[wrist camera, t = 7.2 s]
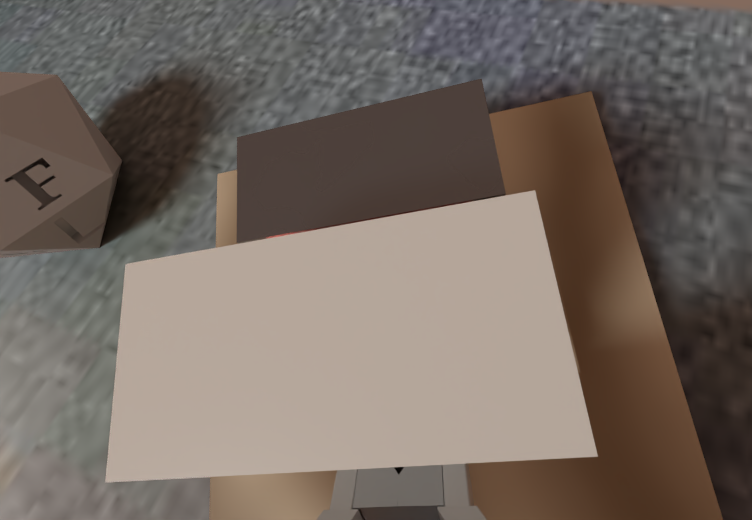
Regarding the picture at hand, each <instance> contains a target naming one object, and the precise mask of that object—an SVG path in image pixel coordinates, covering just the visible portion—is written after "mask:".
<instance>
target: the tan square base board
mask: <svg viewBox="0 0 752 520" xmlns="http://www.w3.org/2000/svg"><path fill="white" fill-rule="evenodd" d="M489 117H490V121H491V126H492V131H493V136H494V140H495V145H496V150H497V155H498V159H499V164H500V169H501V173H502V178H503V183H504V188H505V192H506V195H511V194H517V193H522V192H528V191H533V190H535V192H536V197H537V201H538V205H539V209H540V214H541V218H542V222H543V226H544V230H545V235H546V239H547V243H548V247H549V252H550V256H551V260H552V264H553V269H554V273H555V277H556V281H557V286H558V290H559V294H560V298H561V302H562V307H563V311H564V315H565V319H566V324H567V328H568V332H569V336H570V341H571V345H572V349H573V353H574V358H575V362H576V366H577V370H578V374H579V379H580V383H581V387H582V391H583V396H584V400H585V404H586V408H587V413H588V417H589V421H590V425H591V430H592V434H593V438H594V442H595V446H596V451H597V455H598V457H581V458H562V459H543V460H524V461H505V462H486V463H468V466H469V472H470V478H471V484H472V492H473V500H474V506H478V508H479V509H480V511H481V512H482V513H483V515H484V516H485V517H486V519H487V520H723V518H722V515H721V511H720V508H719V505H718V502H717V498H716V495H715V492H714V489H713V485H712V482H711V479H710V476H709V472H708V469H707V466H706V463H705V459H704V456H703V453H702V449H701V446H700V443H699V440H698V436H697V433H696V430H695V427H694V423H693V420H692V417H691V414H690V410H689V407H688V404H687V401H686V397H685V394H684V391H683V388H682V384H681V381H680V378H679V375H678V371H677V368H676V365H675V362H674V358H673V355H672V352H671V349H670V345H669V342H668V339H667V336H666V332H665V329H664V326H663V323H662V319H661V316H660V313H659V310H658V306H657V303H656V300H655V297H654V293H653V290H652V287H651V284H650V280H649V277H648V274H647V270H646V267H645V264H644V261H643V257H642V254H641V251H640V248H639V244H638V241H637V238H636V235H635V231H634V228H633V225H632V222H631V218H630V215H629V212H628V209H627V205H626V202H625V199H624V196H623V192H622V189H621V186H620V183H619V179H618V176H617V173H616V170H615V166H614V163H613V160H612V157H611V153H610V150H609V147H608V144H607V140H606V137H605V134H604V131H603V127H602V124H601V121H600V118H599V114H598V111H597V108H596V104H595V101H594V98H593V95H592V91H590V92H586V93H581V94H577V95H572V96H568V97H563V98H559V99H554V100H550V101H545V102H541V103H536V104H532V105H527V106H523V107H518V108H514V109H509V110H505V111H500V112H496V113H491V114H489ZM506 195H505V196H506ZM236 242H237V170H234V171H230V172H225V173H221V174H218V180H217V222H216V248H218V247H223V246H229V245H234V244H238V243H236ZM336 473H337V470H333V471H314V472H294V473H275V474H256V475H237V476H218V477H210V513H209V520H316V519H317V518H318V517H319V515H320V514H321V513H322V512H323V510H329V509H330V504H331V499H332V493H333V488H334V483H335V478H336Z"/></svg>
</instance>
